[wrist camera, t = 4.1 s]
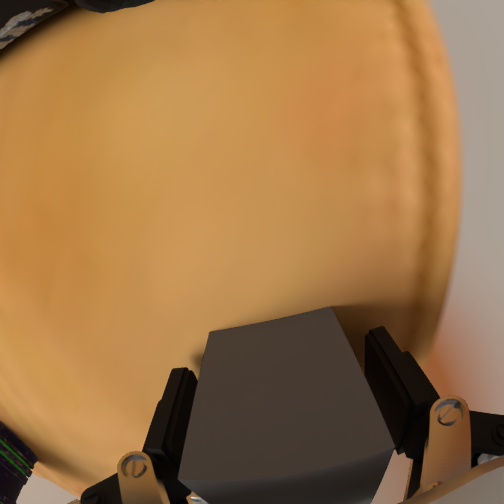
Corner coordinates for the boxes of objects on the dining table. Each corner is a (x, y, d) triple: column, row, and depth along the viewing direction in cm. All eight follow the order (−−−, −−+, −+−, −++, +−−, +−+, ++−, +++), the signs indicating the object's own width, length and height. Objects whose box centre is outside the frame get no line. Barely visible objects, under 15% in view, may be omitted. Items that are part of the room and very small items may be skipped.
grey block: (338, 393, 11) (370, 503, 5) (243, 411, 11) (240, 524, 6) (330, 305, 9) (395, 446, 4) (209, 331, 10) (177, 479, 4)
